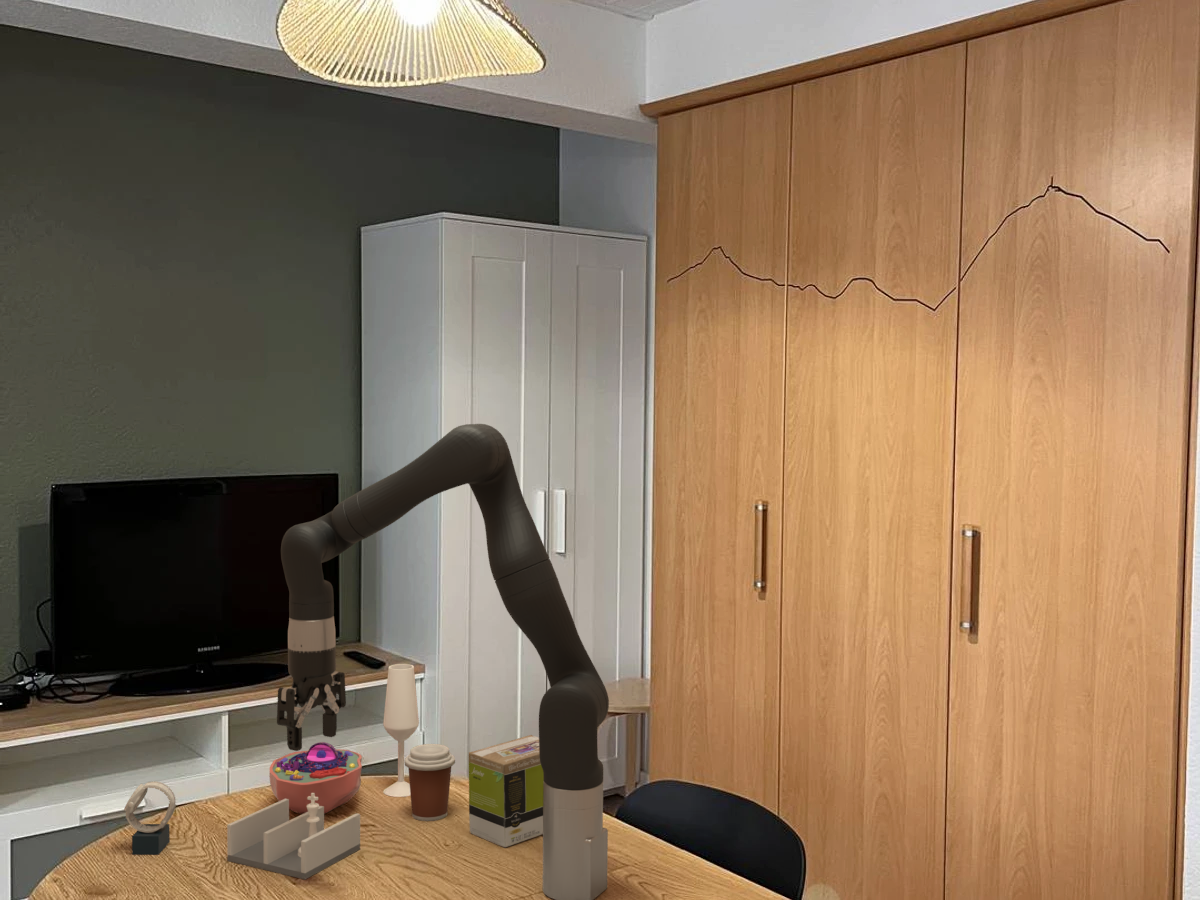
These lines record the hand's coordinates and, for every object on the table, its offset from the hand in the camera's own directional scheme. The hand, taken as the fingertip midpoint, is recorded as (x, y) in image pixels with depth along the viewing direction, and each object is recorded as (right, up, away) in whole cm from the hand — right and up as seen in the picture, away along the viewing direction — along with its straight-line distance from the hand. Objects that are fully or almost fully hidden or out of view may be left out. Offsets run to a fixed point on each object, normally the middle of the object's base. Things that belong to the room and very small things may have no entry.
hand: (312, 742), depth 198 cm
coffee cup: (+16, -19, +22) cm, 33 cm away
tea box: (+33, -19, +15) cm, 41 cm away
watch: (-28, -19, +5) cm, 34 cm away
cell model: (-5, -18, +25) cm, 31 cm away
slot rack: (-4, -19, +3) cm, 20 cm away
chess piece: (0, -19, +1) cm, 19 cm away
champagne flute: (+9, -18, +35) cm, 40 cm away
